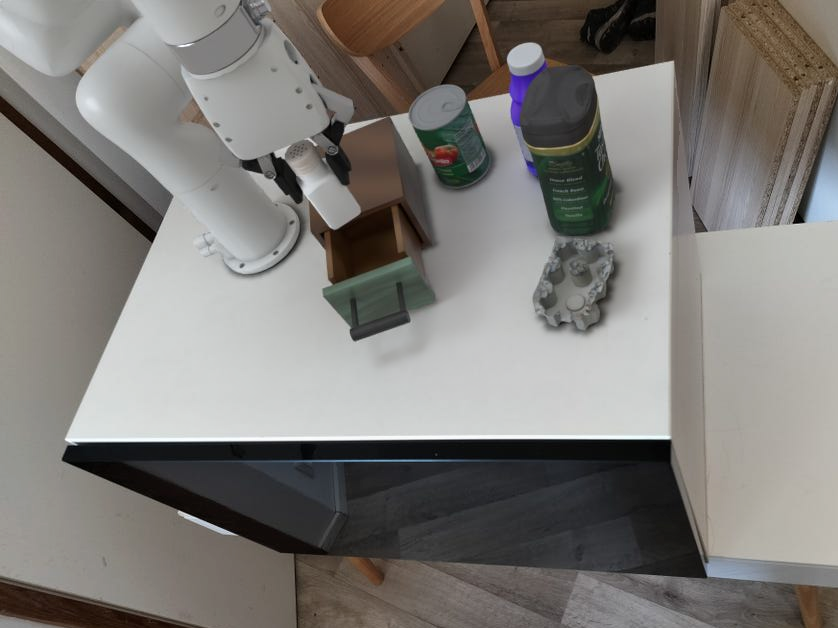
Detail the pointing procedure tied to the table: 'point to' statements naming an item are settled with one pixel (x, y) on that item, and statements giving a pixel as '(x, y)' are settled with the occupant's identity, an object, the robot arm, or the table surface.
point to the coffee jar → (569, 149)
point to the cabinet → (379, 177)
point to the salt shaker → (321, 184)
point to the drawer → (376, 272)
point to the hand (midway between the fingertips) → (322, 184)
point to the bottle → (523, 86)
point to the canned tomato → (450, 136)
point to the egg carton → (574, 281)
